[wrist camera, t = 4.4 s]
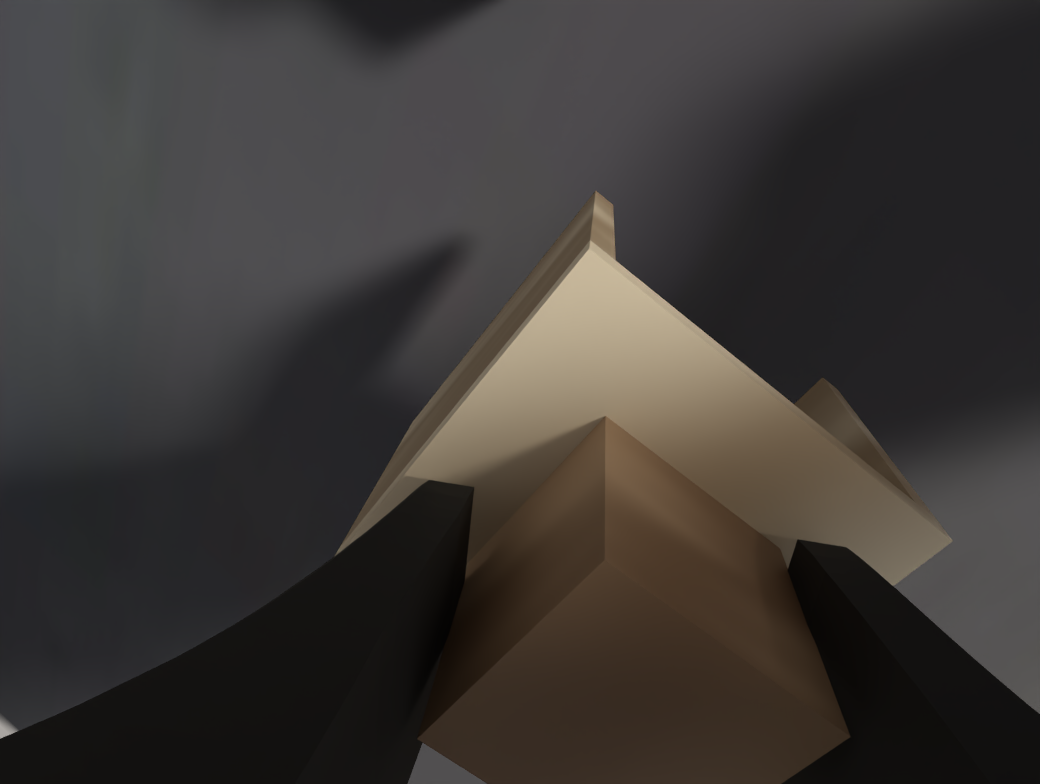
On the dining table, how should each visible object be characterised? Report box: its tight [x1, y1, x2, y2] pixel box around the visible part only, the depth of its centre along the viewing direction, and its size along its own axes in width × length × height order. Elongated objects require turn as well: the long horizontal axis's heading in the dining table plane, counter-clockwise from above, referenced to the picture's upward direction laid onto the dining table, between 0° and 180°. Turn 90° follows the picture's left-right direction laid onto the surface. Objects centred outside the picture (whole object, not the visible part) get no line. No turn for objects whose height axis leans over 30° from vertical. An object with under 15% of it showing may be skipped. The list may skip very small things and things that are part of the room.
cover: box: [335, 191, 952, 784], centre depth 11 cm, size 6×6×8 cm
